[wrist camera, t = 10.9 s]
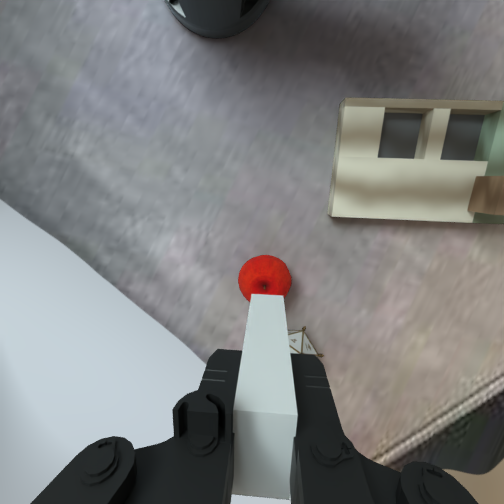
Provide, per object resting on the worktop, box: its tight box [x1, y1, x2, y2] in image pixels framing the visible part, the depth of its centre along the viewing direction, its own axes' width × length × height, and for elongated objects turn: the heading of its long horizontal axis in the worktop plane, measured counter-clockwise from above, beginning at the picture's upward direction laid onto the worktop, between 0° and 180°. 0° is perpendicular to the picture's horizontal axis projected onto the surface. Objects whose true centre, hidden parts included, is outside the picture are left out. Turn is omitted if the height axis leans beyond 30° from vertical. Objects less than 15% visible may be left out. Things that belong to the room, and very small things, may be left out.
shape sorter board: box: [328, 98, 504, 224], centre depth 36 cm, size 15×25×3 cm, turn 88°
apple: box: [238, 255, 291, 302], centre depth 40 cm, size 8×8×7 cm
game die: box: [287, 326, 324, 358], centre depth 42 cm, size 9×8×10 cm
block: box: [467, 176, 504, 215], centre depth 33 cm, size 4×4×4 cm
